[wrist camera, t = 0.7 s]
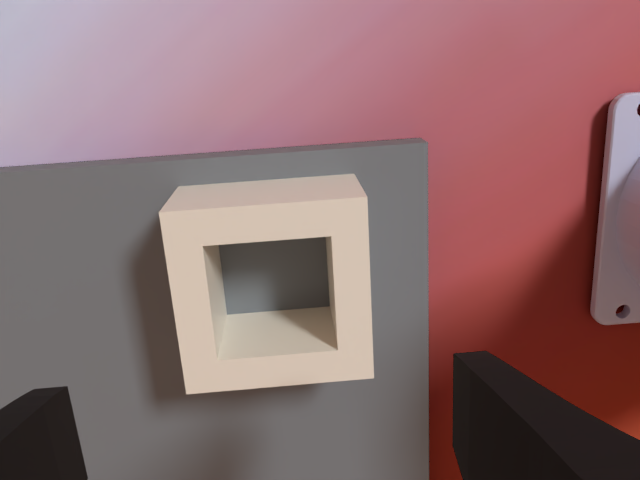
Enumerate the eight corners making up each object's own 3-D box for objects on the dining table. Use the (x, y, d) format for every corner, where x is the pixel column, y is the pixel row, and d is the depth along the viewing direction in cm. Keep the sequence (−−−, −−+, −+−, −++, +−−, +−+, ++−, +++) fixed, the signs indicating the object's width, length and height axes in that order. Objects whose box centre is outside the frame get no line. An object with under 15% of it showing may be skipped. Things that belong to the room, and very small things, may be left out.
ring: (354, 173, 18) (367, 196, 15) (361, 331, 20) (374, 378, 17) (178, 186, 18) (158, 212, 15) (200, 344, 20) (186, 394, 17)
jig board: (420, 137, 19) (427, 142, 18) (424, 657, 26) (429, 680, 25) (-88, 173, 18) (-109, 180, 17) (59, 695, 26) (50, 720, 25)
